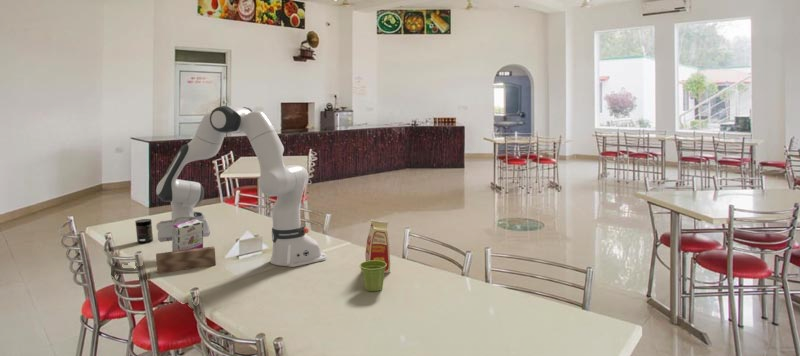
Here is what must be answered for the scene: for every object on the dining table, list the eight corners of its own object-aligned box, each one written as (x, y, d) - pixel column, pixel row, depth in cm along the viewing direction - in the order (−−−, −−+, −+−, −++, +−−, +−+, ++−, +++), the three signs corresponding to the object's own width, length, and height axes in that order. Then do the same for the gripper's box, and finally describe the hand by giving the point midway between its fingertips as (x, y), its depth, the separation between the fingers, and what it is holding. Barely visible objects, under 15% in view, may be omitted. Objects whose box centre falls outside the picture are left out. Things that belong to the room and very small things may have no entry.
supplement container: (155, 239, 231) (153, 218, 230) (151, 243, 225) (149, 221, 223) (139, 240, 230) (137, 219, 228) (135, 244, 223) (133, 222, 222)
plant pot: (354, 289, 166) (353, 265, 164) (372, 281, 173) (372, 258, 172) (374, 295, 160) (374, 271, 159) (392, 287, 167) (392, 263, 166)
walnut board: (215, 262, 195) (214, 246, 194) (215, 265, 193) (214, 248, 192) (157, 270, 187) (156, 253, 185) (157, 273, 184) (155, 255, 183)
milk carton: (369, 274, 180) (368, 222, 177) (364, 267, 189) (363, 217, 186) (393, 272, 182) (392, 221, 179) (387, 264, 191) (386, 215, 188)
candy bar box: (196, 255, 203) (196, 218, 200) (203, 258, 201) (204, 221, 197) (171, 262, 194) (171, 224, 190) (178, 266, 192) (178, 227, 188)
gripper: (155, 217, 200) (156, 246, 193) (208, 212, 209) (211, 240, 201) (156, 225, 205) (158, 254, 197) (208, 220, 213) (211, 247, 206)
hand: (185, 246), depth 199 cm, fingers closed
